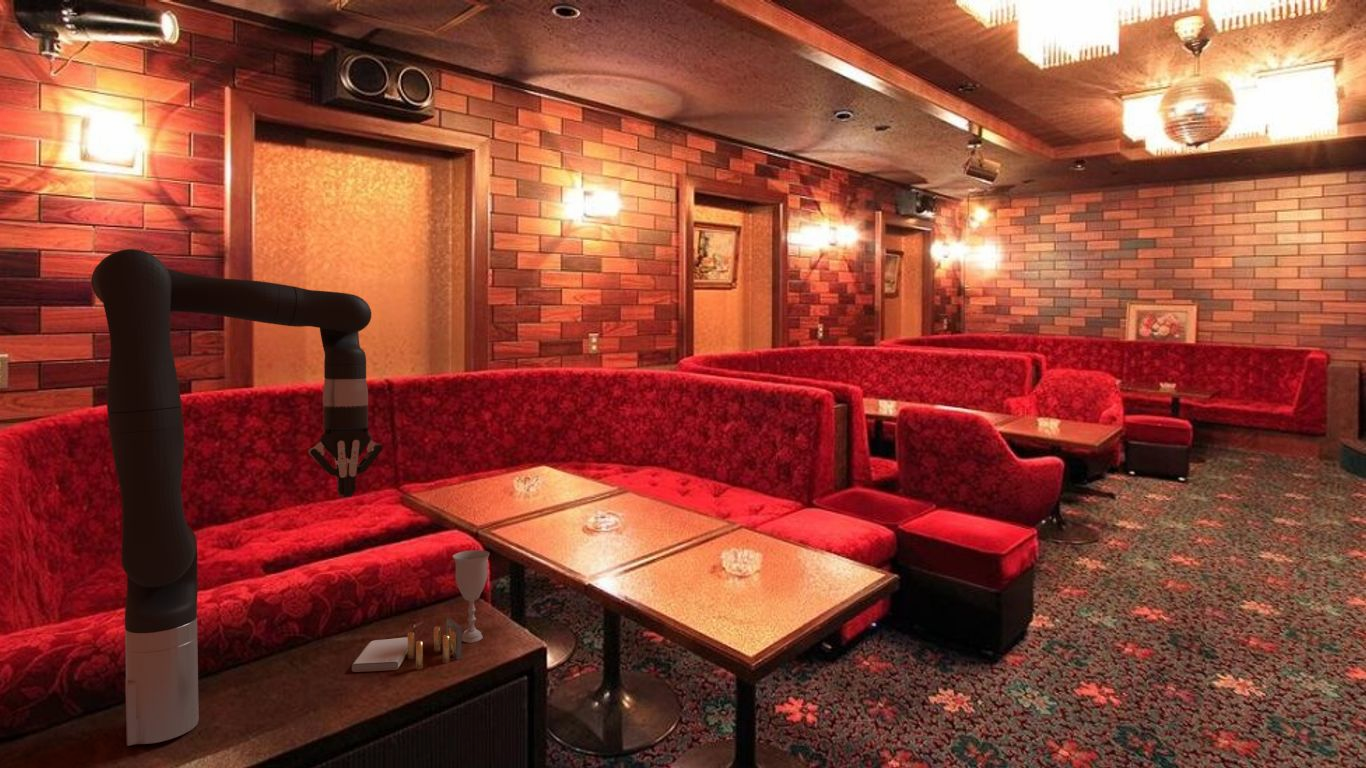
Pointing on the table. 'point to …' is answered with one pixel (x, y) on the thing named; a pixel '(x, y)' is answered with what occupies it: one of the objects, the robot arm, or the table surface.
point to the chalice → (471, 585)
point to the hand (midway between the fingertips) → (346, 496)
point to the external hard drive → (382, 655)
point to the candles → (438, 643)
